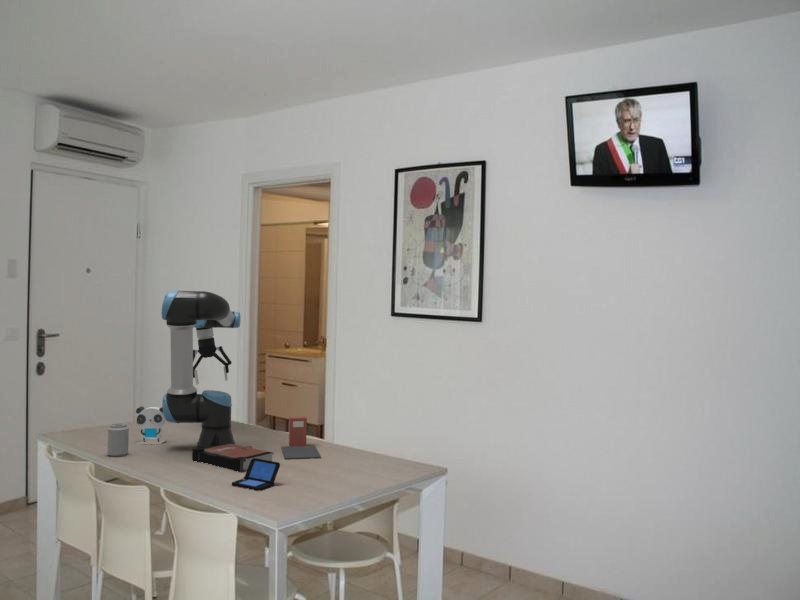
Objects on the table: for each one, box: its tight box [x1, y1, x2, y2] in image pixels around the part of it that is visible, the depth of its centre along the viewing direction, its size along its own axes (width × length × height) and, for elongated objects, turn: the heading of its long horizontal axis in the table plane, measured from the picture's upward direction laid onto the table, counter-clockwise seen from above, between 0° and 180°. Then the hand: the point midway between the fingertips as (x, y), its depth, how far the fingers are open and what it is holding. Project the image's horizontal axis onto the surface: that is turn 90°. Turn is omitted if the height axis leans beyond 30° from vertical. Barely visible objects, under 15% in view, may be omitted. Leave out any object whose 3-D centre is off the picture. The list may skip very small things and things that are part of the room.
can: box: [107, 422, 130, 457], centre depth 263 cm, size 8×8×12 cm
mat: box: [280, 445, 322, 460], centre depth 272 cm, size 20×14×1 cm
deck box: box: [288, 415, 308, 446], centre depth 285 cm, size 4×7×12 cm, turn 104°
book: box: [191, 443, 275, 473], centre depth 255 cm, size 26×18×5 cm
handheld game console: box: [231, 458, 281, 491], centre depth 226 cm, size 12×11×7 cm
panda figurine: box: [135, 406, 167, 442], centre depth 286 cm, size 12×11×15 cm
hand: (212, 382), depth 320 cm, fingers open, 13 cm apart
